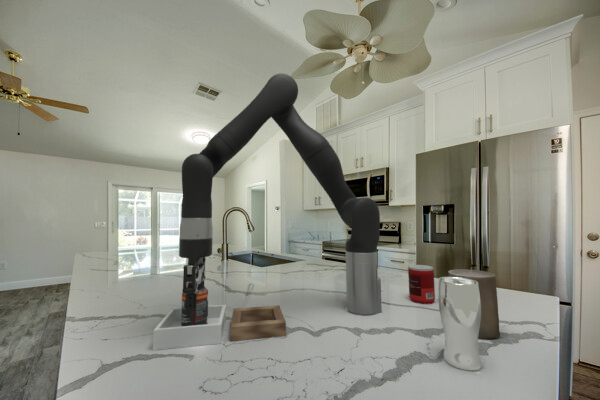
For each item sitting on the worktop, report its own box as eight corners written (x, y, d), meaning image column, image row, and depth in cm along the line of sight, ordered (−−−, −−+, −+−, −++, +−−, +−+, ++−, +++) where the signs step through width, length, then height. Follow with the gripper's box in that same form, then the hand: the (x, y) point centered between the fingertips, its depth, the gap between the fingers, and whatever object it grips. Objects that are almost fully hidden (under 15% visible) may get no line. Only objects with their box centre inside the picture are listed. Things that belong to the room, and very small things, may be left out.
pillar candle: (503, 330, 62) (498, 266, 63) (496, 344, 55) (490, 272, 56) (457, 320, 69) (454, 262, 70) (446, 331, 62) (442, 267, 63)
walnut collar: (279, 316, 72) (279, 305, 72) (285, 335, 60) (285, 322, 60) (233, 320, 69) (233, 308, 70) (230, 341, 57) (230, 327, 57)
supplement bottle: (212, 324, 64) (213, 278, 65) (198, 335, 58) (199, 283, 59) (191, 322, 65) (192, 277, 66) (175, 332, 59) (176, 282, 60)
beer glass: (433, 353, 52) (429, 276, 53) (465, 351, 52) (462, 276, 53) (457, 373, 45) (452, 285, 46) (494, 371, 45) (489, 284, 46)
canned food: (436, 299, 86) (434, 265, 87) (433, 306, 80) (432, 269, 81) (411, 295, 91) (410, 263, 91) (407, 301, 84) (406, 267, 85)
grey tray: (225, 319, 70) (226, 304, 70) (220, 343, 56) (221, 324, 57) (171, 324, 67) (171, 308, 67) (152, 350, 54) (153, 330, 54)
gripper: (208, 238, 57) (206, 314, 56) (215, 234, 71) (214, 295, 70) (171, 239, 56) (169, 316, 54) (186, 235, 69) (184, 297, 68)
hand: (194, 304), depth 62 cm, fingers open, 8 cm apart
